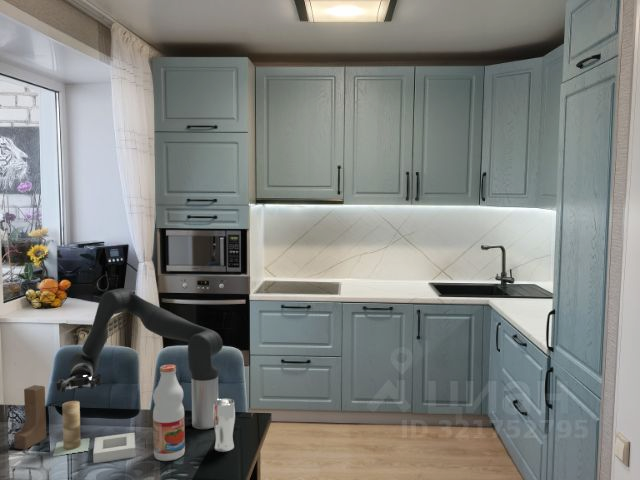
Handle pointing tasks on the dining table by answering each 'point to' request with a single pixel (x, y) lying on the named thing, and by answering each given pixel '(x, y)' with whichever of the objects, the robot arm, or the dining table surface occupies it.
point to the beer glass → (224, 424)
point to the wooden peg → (71, 425)
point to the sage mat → (61, 451)
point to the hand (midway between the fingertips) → (77, 388)
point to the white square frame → (114, 447)
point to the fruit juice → (168, 416)
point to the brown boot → (32, 418)
